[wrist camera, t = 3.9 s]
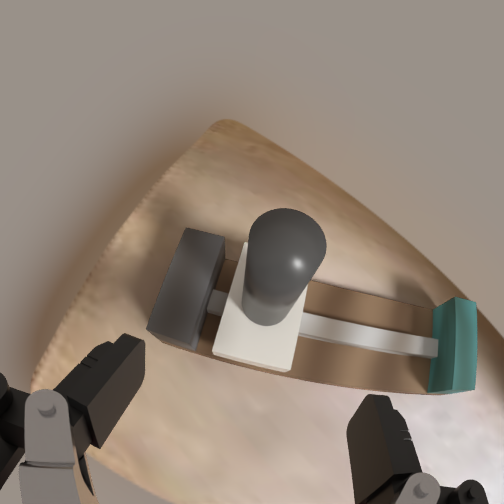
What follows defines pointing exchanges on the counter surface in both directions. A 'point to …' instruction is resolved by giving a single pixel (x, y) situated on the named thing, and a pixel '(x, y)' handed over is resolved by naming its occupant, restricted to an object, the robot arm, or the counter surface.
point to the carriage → (270, 290)
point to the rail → (325, 328)
